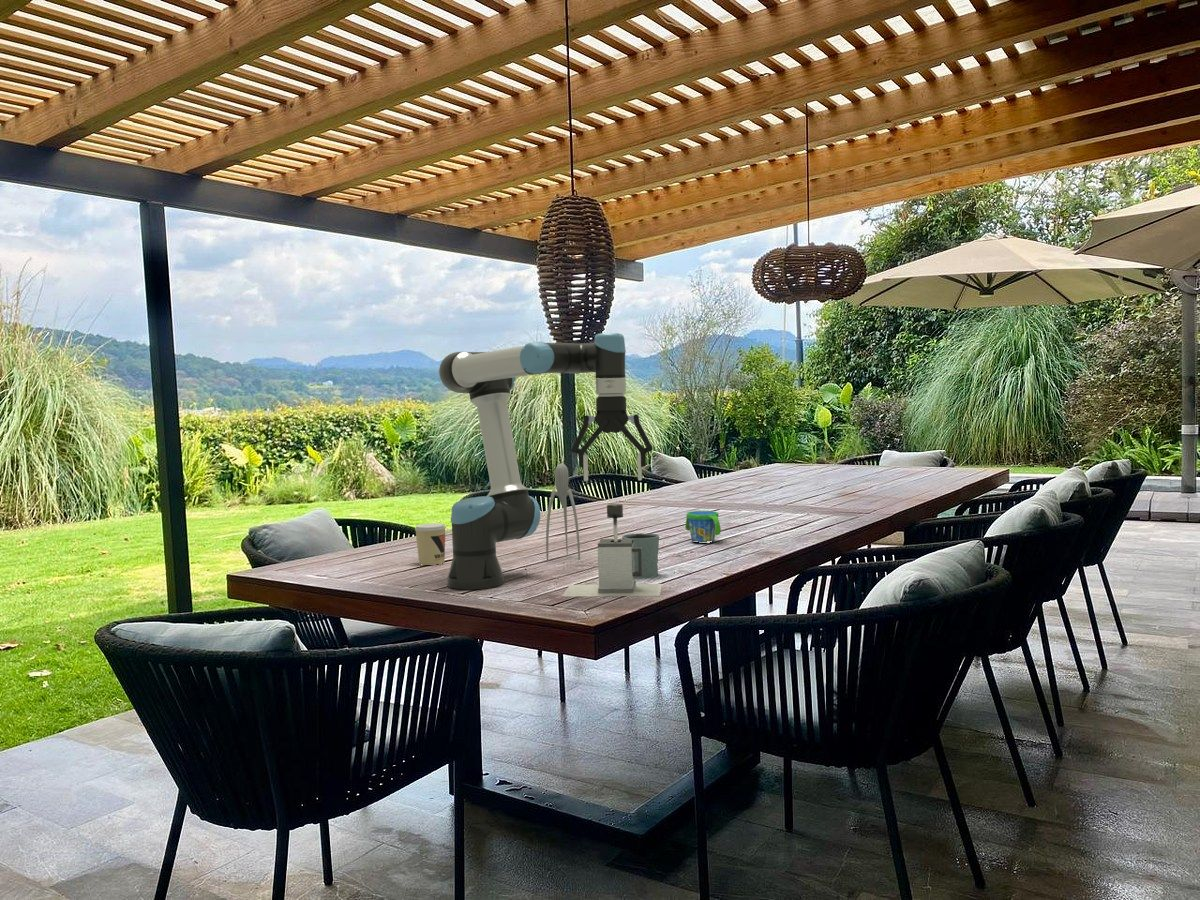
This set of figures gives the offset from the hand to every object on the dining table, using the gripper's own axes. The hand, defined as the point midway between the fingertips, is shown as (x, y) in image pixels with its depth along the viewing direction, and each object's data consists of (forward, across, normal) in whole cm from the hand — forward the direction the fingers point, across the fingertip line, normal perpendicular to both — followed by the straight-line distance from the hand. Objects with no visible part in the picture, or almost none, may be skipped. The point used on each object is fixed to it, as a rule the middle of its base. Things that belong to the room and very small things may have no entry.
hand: (612, 480), depth 230 cm
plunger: (+25, +1, 0) cm, 25 cm away
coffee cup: (+30, -61, +47) cm, 83 cm away
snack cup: (+29, +23, +80) cm, 88 cm away
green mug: (+29, +6, +19) cm, 35 cm away
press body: (+28, 0, 0) cm, 28 cm away
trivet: (+29, 0, -1) cm, 29 cm away
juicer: (+30, -20, +53) cm, 64 cm away
